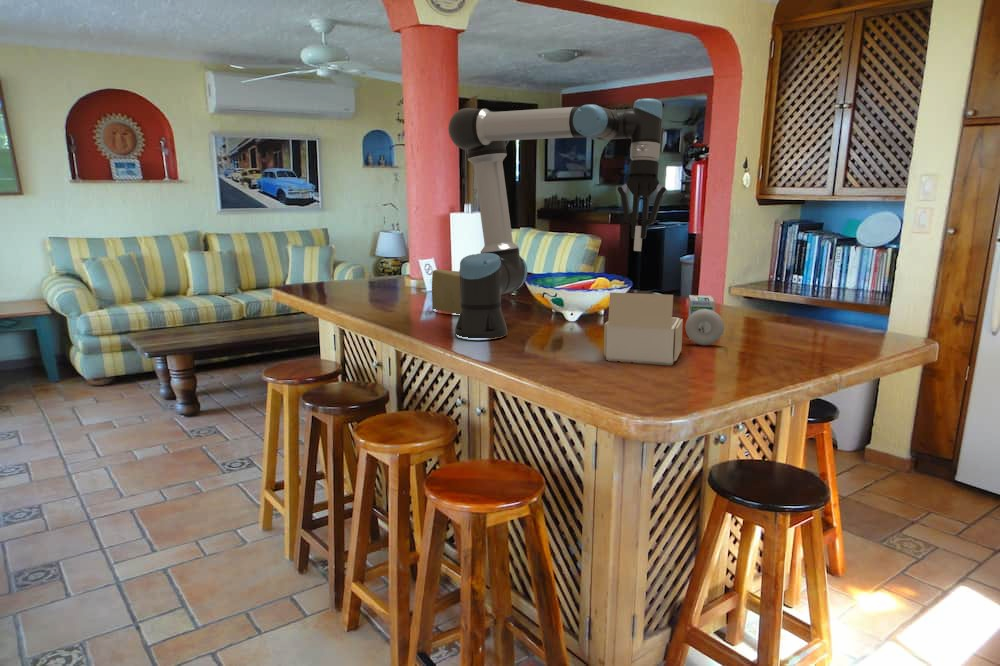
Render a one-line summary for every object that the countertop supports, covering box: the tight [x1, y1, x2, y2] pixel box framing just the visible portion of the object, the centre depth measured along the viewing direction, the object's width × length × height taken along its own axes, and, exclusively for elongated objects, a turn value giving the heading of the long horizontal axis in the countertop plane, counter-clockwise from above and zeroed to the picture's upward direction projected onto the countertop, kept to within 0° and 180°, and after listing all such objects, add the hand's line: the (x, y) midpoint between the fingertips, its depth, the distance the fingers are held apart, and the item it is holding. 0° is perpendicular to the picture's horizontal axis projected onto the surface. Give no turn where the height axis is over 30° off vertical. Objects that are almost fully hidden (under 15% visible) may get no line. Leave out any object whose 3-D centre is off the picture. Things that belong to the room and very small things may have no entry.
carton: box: [603, 316, 684, 366], centre depth 174 cm, size 18×15×9 cm
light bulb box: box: [688, 294, 716, 333], centre depth 198 cm, size 11×7×11 cm, turn 168°
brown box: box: [431, 269, 461, 314], centre depth 233 cm, size 22×10×15 cm, turn 55°
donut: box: [685, 309, 725, 347], centre depth 184 cm, size 10×4×10 cm, turn 71°
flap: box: [607, 292, 674, 329], centre depth 165 cm, size 15×1×8 cm, turn 70°
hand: (637, 250), depth 183 cm, fingers closed
